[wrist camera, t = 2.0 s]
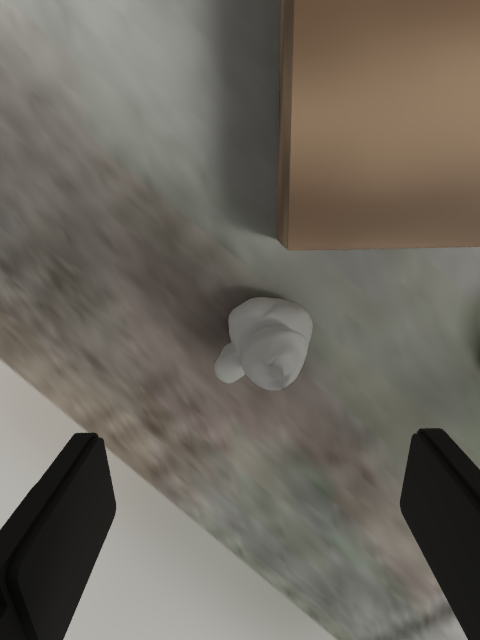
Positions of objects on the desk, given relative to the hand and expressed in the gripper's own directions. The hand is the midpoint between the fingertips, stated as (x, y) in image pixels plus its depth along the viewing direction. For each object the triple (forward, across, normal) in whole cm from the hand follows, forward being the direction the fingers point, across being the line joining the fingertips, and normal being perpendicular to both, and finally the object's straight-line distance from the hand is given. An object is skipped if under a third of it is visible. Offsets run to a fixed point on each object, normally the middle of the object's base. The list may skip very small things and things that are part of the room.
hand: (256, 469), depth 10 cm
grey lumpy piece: (+13, -1, 0) cm, 13 cm away
